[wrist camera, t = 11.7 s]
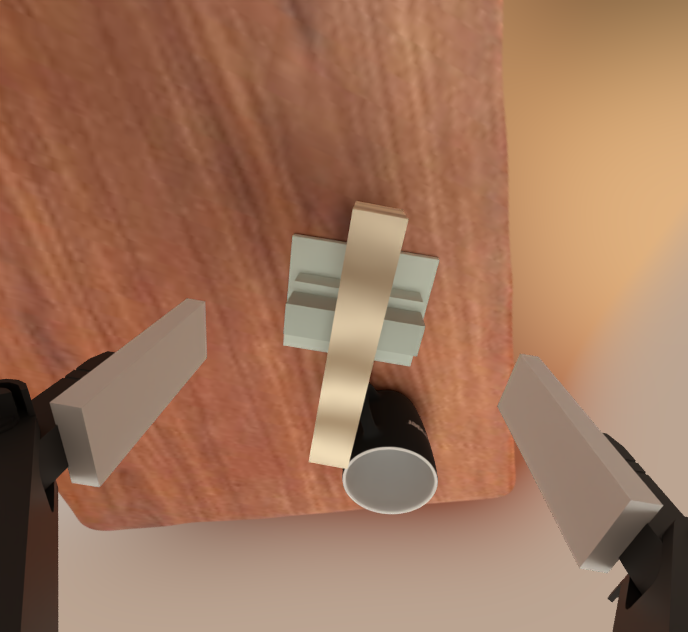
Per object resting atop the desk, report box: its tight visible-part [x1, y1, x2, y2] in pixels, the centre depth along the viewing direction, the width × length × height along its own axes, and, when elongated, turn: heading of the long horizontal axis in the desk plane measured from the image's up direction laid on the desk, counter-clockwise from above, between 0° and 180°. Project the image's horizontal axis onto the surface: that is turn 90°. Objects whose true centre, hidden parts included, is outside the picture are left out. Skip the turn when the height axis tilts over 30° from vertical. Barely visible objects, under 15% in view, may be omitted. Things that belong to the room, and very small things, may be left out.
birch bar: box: [309, 201, 409, 469], centre depth 28 cm, size 22×4×4 cm, turn 170°
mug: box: [342, 383, 438, 514], centre depth 36 cm, size 12×9×10 cm
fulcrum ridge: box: [283, 234, 439, 366], centre depth 33 cm, size 12×14×6 cm
